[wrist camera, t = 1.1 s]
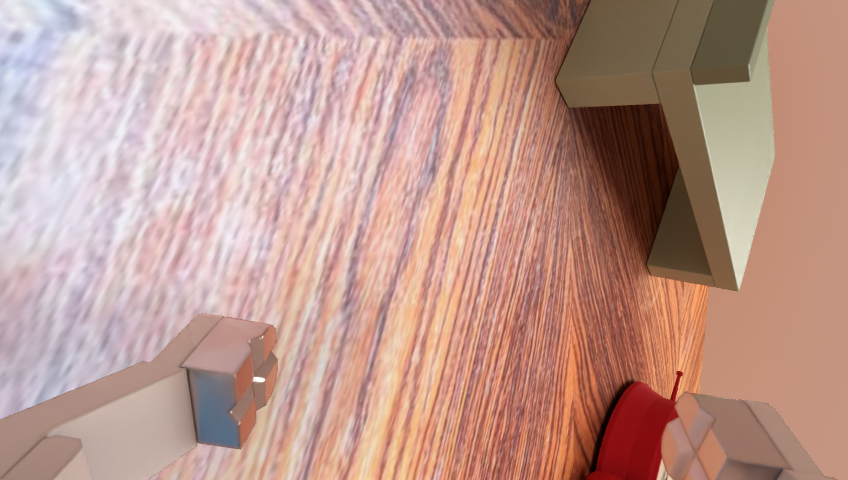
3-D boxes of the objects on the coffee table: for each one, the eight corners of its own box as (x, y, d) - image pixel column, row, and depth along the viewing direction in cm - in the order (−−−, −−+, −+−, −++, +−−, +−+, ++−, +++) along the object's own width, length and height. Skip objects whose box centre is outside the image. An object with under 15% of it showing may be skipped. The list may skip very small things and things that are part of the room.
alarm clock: (696, 433, 42) (687, 634, 32) (620, 418, 45) (590, 597, 36) (690, 356, 36) (677, 572, 27) (604, 347, 40) (563, 535, 30)
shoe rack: (554, 80, 23) (749, 63, 18) (628, -87, 27) (811, -144, 21) (651, 276, 39) (772, 298, 33) (691, 153, 42) (807, 155, 37)
